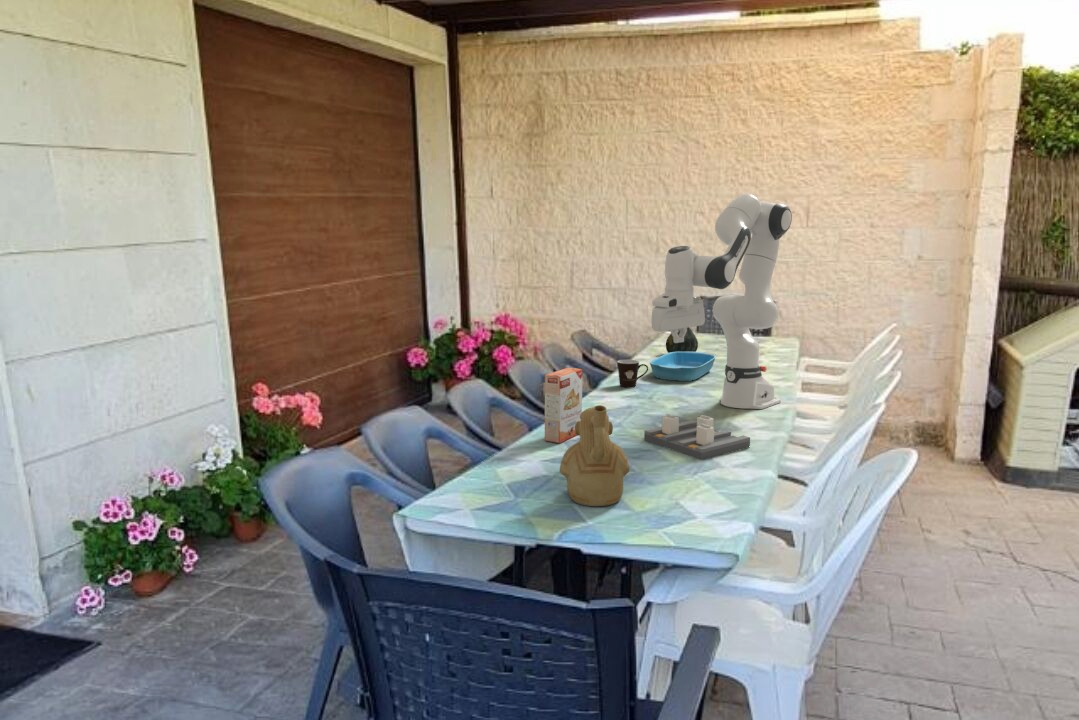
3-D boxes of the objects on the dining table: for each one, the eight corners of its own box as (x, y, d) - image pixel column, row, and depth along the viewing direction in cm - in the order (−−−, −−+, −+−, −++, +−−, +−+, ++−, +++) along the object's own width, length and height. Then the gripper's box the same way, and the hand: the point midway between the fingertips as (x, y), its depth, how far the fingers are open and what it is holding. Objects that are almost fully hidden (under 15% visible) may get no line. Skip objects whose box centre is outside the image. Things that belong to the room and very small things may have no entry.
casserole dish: (694, 385, 315) (694, 368, 314) (642, 380, 326) (642, 363, 325) (721, 369, 347) (721, 353, 345) (672, 365, 357) (673, 349, 356)
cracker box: (560, 444, 237) (560, 376, 233) (543, 441, 240) (543, 374, 236) (583, 433, 249) (583, 368, 245) (566, 430, 252) (566, 366, 248)
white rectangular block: (703, 431, 240) (704, 414, 239) (713, 434, 237) (713, 416, 236) (696, 433, 239) (697, 415, 238) (706, 436, 235) (706, 418, 234)
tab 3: (703, 441, 231) (704, 422, 230) (713, 444, 227) (714, 425, 226) (696, 442, 229) (696, 424, 228) (706, 446, 226) (706, 427, 225)
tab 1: (669, 430, 242) (669, 413, 241) (678, 433, 239) (678, 415, 238) (662, 432, 240) (662, 414, 239) (671, 435, 237) (671, 417, 236)
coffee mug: (614, 387, 312) (614, 362, 310) (620, 383, 320) (620, 359, 318) (643, 389, 308) (643, 364, 306) (648, 385, 316) (648, 360, 314)
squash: (658, 342, 385) (669, 321, 374) (686, 341, 390) (697, 321, 379) (667, 364, 377) (678, 345, 366) (695, 364, 382) (707, 344, 370)
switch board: (691, 429, 252) (691, 420, 251) (749, 447, 232) (750, 437, 232) (644, 439, 241) (644, 430, 240) (701, 459, 221) (701, 449, 220)
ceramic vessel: (623, 483, 202) (624, 389, 198) (635, 512, 183) (636, 408, 178) (557, 485, 202) (557, 390, 197) (562, 514, 183) (561, 409, 178)
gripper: (695, 295, 254) (694, 337, 257) (648, 301, 243) (648, 345, 246) (709, 296, 249) (709, 339, 252) (662, 302, 238) (662, 347, 241)
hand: (678, 342), depth 249 cm, fingers closed
